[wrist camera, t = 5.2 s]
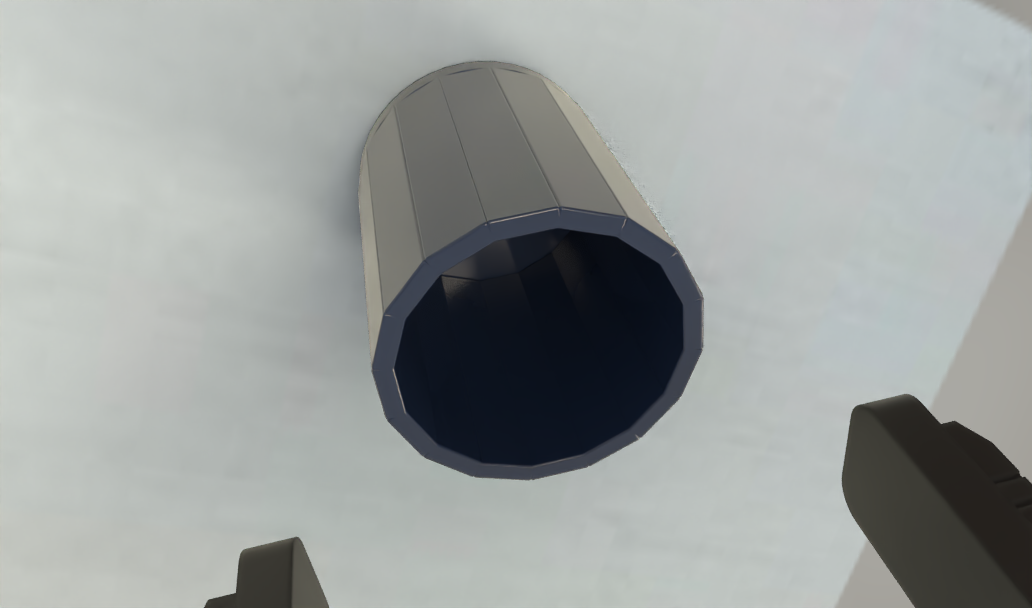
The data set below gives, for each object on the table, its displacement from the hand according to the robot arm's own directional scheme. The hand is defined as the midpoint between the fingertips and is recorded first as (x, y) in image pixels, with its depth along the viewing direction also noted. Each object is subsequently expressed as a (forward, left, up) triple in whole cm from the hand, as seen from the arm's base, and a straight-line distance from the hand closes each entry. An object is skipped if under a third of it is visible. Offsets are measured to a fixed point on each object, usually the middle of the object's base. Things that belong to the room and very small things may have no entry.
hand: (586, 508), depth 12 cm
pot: (0, 0, -11) cm, 11 cm away
